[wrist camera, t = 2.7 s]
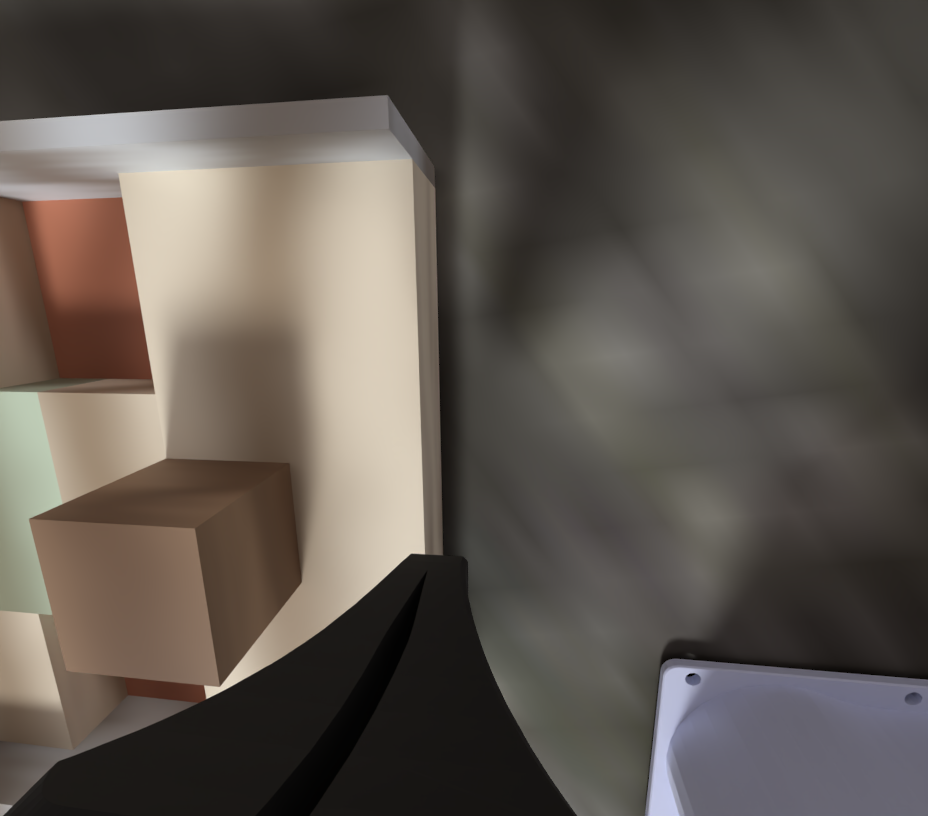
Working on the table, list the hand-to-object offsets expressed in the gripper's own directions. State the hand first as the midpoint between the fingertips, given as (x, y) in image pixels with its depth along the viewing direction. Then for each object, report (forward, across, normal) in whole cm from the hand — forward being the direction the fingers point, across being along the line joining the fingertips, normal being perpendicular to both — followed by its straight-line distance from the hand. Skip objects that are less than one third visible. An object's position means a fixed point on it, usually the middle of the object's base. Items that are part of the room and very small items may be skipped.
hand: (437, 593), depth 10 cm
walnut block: (+3, +7, 0) cm, 7 cm away
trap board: (+6, +10, 0) cm, 12 cm away
